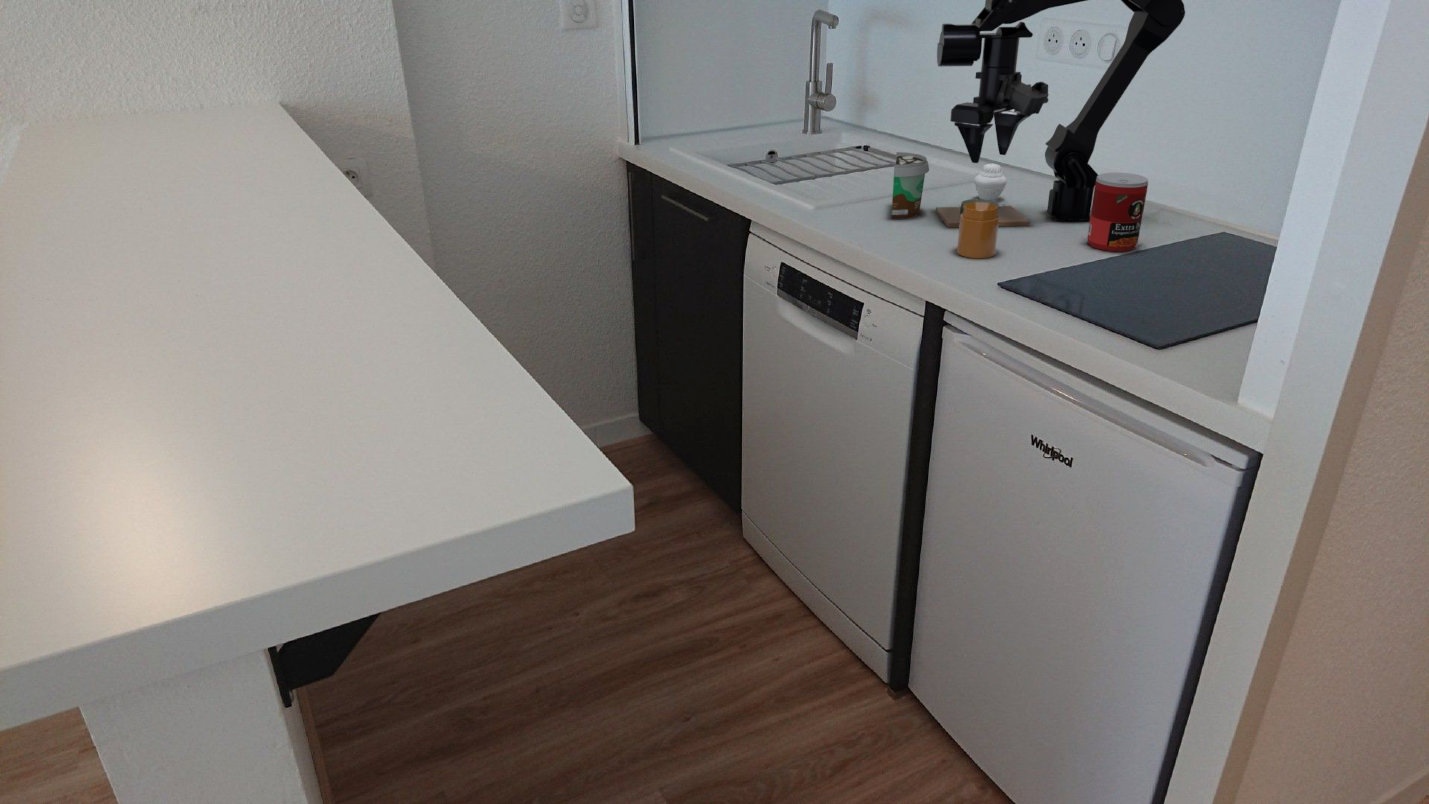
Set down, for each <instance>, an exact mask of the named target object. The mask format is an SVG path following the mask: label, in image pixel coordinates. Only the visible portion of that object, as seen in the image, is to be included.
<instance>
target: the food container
mask: <svg viewBox="0 0 1429 804" xmlns="http://www.w3.org/2000/svg"><path fill="white" fill-rule="evenodd" d="M895 155H896V156H895V164H894V166H893V167H894V168H893V184H892V199H891V200H892V201H891V215H890V217H891V220H903V219H909V218H914V217H917V216H919V215H920V211H921V206H922V205H921V203H922V197H923V191H924V185H925V177H926V174H927V173H928V172H929V171H930V165H929V161H928V158H927V157H926V156H925V155H922V154H919V153H915V152H904V151H896V154H895Z"/></svg>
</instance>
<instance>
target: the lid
mask: <svg viewBox="0 0 1429 804" xmlns="http://www.w3.org/2000/svg"><path fill="white" fill-rule="evenodd" d="M974 202H983V203H990V204H994V205H996V206H997V207H998V206H999V203H998V202H997V201H991V200H984V199H980V198H972V199H966V200H963V201H961V202H960V206H959V207H960V213H961V214H963V206H964V205H965V204H968V203H974ZM997 210H998V209H997ZM997 214H998V213H997Z"/></svg>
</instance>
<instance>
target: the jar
mask: <svg viewBox="0 0 1429 804" xmlns="http://www.w3.org/2000/svg"><path fill="white" fill-rule="evenodd" d="M997 209H998V207H997V206H996V205H994V204H990V203H983V202H974V203H968V204H965V205H964V206H963V214H961V215H960V224H959V227H958V236H957V245H956V253H957V254H958V255H960V256H962V257H965V258H970V259H987V258H992V257H994V256H995V255H996V253H997V252H996V250H997V242H998V233H999V226H998V224H999V216H998V215H997V213H998V210H997Z"/></svg>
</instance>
